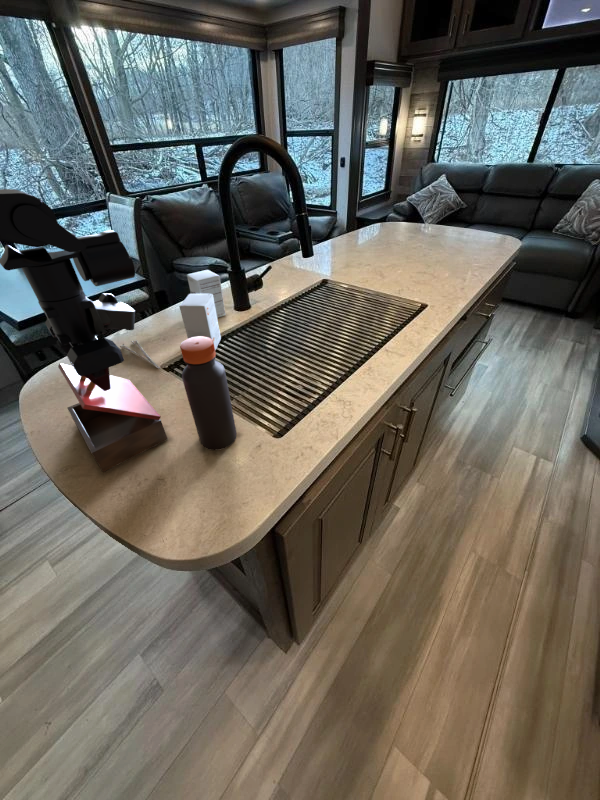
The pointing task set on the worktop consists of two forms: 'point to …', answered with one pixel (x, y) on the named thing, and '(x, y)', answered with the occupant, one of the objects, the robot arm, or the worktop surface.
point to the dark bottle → (208, 393)
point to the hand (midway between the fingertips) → (102, 383)
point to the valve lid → (109, 395)
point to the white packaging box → (208, 288)
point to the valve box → (116, 435)
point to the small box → (200, 317)
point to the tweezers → (139, 354)
